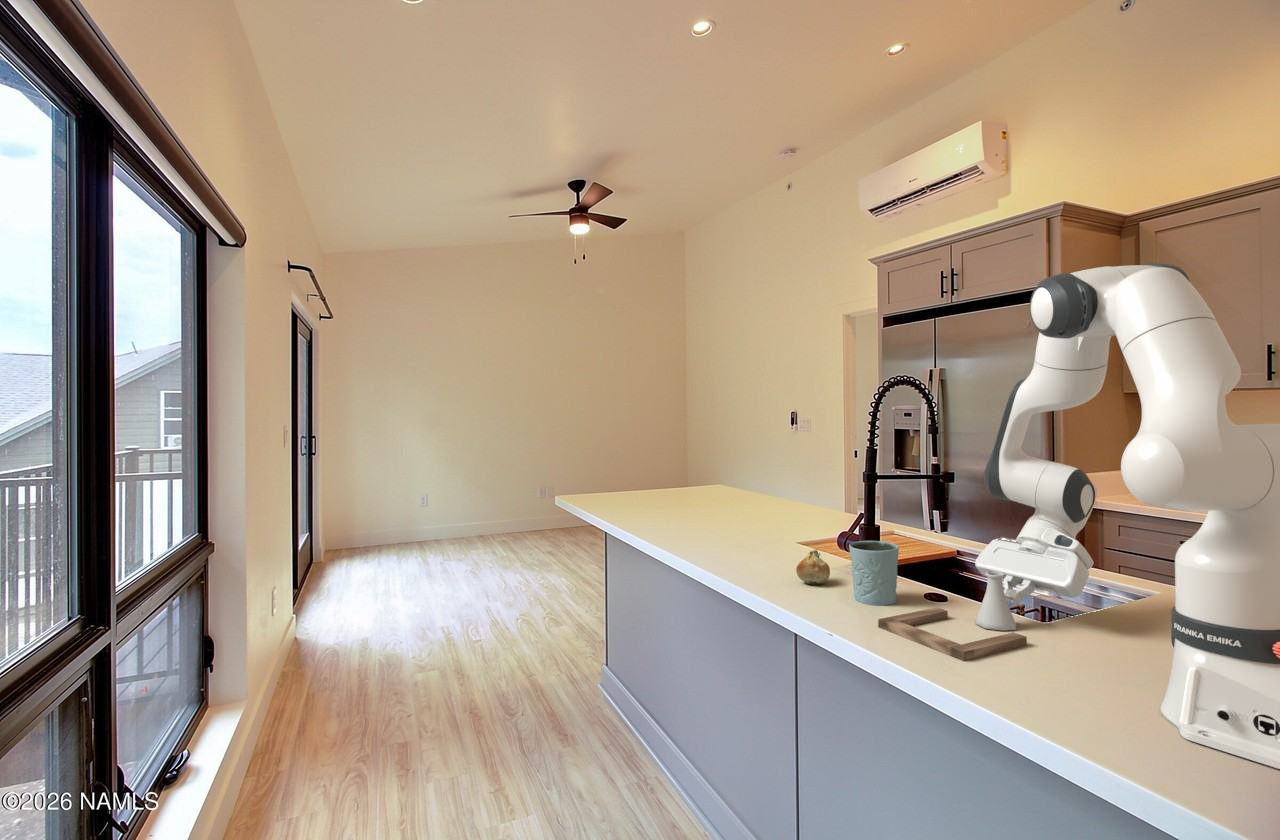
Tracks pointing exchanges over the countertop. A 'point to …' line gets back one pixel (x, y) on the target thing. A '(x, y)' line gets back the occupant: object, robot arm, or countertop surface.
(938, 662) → the countertop surface
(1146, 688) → the countertop surface
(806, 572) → the onion
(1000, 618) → the flask
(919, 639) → the walnut bay
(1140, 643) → the countertop surface
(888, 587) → the blue embossed cup
